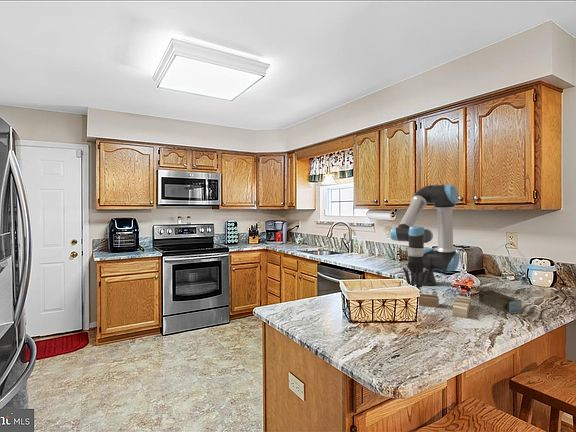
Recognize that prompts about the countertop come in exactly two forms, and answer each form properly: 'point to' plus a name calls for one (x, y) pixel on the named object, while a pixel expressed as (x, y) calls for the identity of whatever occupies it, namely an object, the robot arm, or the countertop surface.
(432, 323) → the countertop surface
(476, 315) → the countertop surface
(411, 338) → the countertop surface
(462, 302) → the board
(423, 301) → the block
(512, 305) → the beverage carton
